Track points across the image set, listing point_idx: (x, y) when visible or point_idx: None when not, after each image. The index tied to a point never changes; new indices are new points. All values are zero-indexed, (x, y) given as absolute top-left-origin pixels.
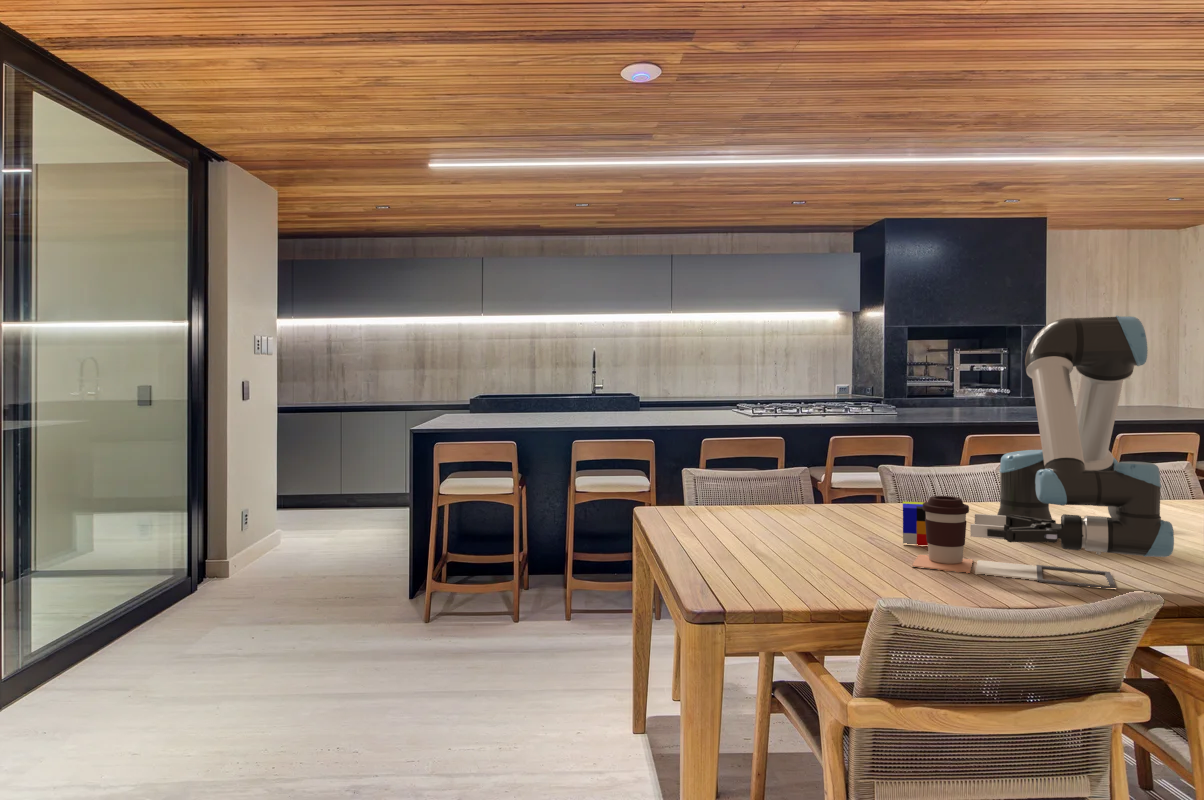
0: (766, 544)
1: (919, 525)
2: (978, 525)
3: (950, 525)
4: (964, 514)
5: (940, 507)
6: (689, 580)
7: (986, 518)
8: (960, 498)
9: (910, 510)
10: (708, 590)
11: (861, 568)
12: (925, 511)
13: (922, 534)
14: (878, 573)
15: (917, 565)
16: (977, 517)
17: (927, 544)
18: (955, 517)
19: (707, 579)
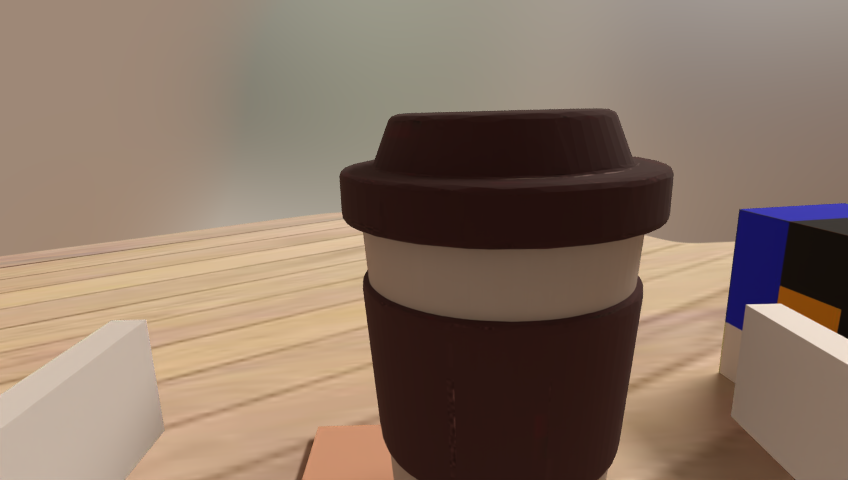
0: None
1: None
2: (58, 358)
3: (366, 305)
4: (465, 254)
5: (355, 164)
6: (124, 244)
7: (827, 402)
8: (559, 112)
9: (763, 227)
10: (47, 260)
11: (263, 348)
12: (826, 246)
13: None
14: (197, 380)
15: (324, 439)
16: (759, 348)
17: None
18: (382, 256)
19: (130, 250)
